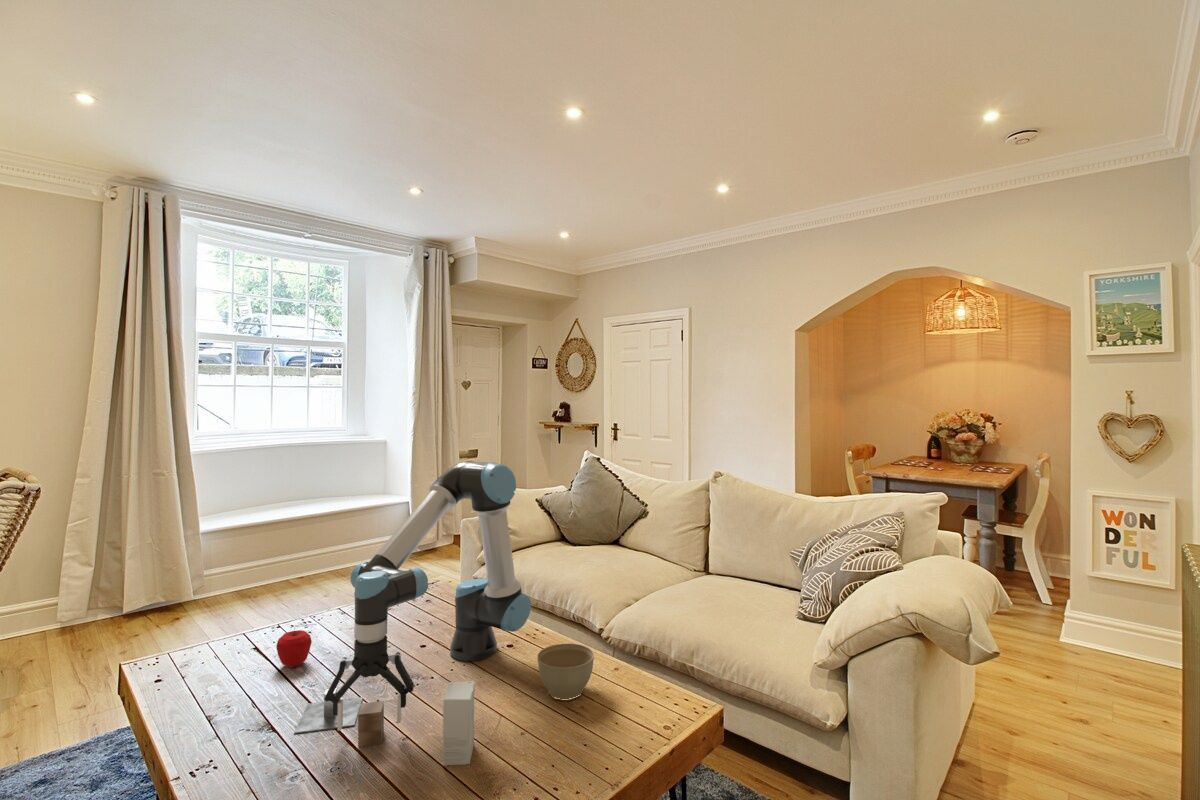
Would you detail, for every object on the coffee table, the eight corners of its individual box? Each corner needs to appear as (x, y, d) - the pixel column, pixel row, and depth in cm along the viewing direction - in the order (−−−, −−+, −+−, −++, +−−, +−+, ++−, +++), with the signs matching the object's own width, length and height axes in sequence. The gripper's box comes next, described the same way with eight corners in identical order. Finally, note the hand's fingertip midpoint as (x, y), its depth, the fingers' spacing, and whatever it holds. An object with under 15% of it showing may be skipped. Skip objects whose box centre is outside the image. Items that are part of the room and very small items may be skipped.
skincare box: (448, 745, 139) (448, 680, 139) (476, 743, 140) (475, 679, 140) (441, 767, 131) (441, 699, 131) (471, 765, 132) (471, 697, 131)
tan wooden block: (383, 731, 145) (383, 700, 145) (381, 743, 140) (381, 711, 140) (361, 734, 144) (361, 703, 144) (358, 747, 139) (358, 714, 138)
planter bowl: (603, 685, 168) (603, 648, 168) (578, 713, 153) (578, 672, 153) (555, 674, 175) (555, 638, 175) (526, 700, 160) (526, 660, 160)
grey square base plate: (362, 698, 161) (362, 675, 161) (354, 726, 147) (354, 701, 147) (308, 705, 157) (307, 681, 157) (294, 734, 144) (294, 708, 144)
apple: (269, 669, 178) (269, 634, 178) (296, 656, 187) (295, 622, 187) (292, 675, 174) (292, 639, 174) (318, 661, 183) (318, 627, 183)
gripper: (424, 626, 148) (423, 709, 148) (319, 635, 142) (318, 722, 142) (423, 638, 141) (422, 725, 141) (311, 648, 135) (310, 739, 135)
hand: (370, 724), depth 141 cm, fingers open, 13 cm apart
